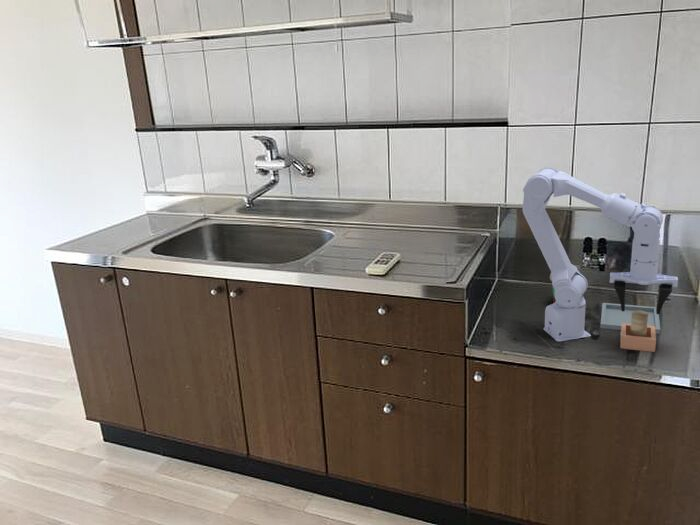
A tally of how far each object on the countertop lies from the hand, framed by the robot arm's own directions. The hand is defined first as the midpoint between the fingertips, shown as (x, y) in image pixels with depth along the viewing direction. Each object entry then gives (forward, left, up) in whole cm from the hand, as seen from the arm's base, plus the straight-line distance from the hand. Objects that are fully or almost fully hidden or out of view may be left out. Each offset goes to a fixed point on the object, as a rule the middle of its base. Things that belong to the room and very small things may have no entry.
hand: (640, 311), depth 144 cm
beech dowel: (0, 0, -9) cm, 9 cm away
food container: (-4, +30, -10) cm, 32 cm away
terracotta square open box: (0, 0, -9) cm, 9 cm away
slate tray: (+6, +12, -9) cm, 16 cm away
